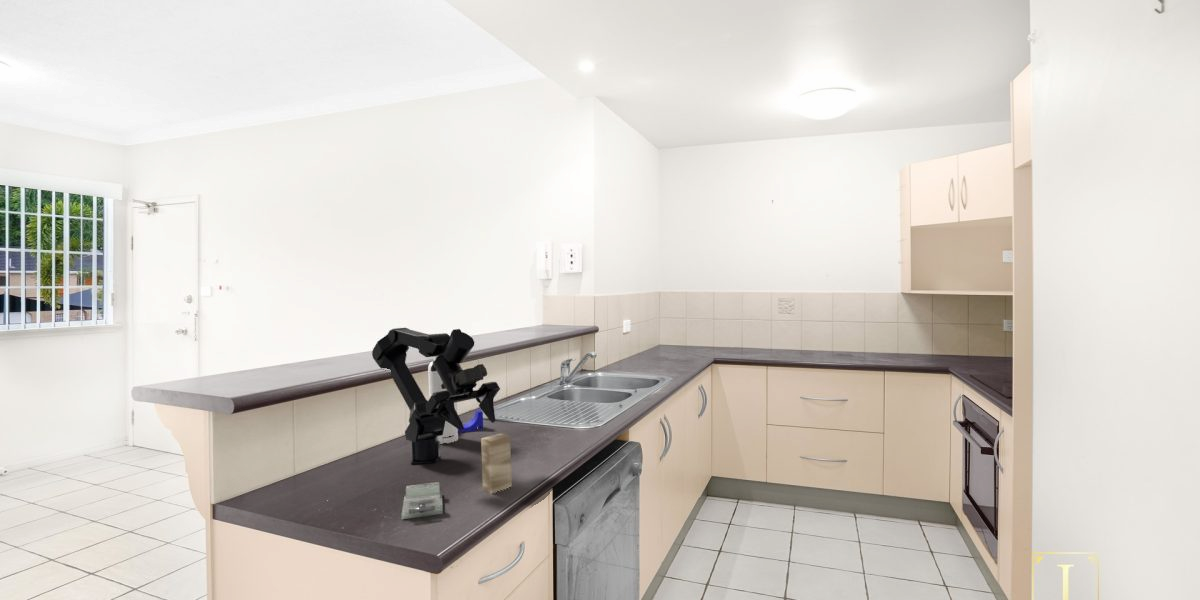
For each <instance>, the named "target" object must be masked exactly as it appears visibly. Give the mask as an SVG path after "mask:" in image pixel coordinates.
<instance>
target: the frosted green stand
mask: <svg viewBox="0 0 1200 600" xmlns="http://www.w3.org/2000/svg"><path fill="white" fill-rule="evenodd" d="M405 487H406V488H405V495H404V498H403V503H402V509H401V510H402V511H401V520H407V519H415V518H424V517H429V516H437V515H443V512H444V511H443V491H442V490H441V489H440V482H439V481H436V482H429V483H428V482H426V483H420V484H410V485H406V486H405ZM440 490H441V491H440Z"/></svg>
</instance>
